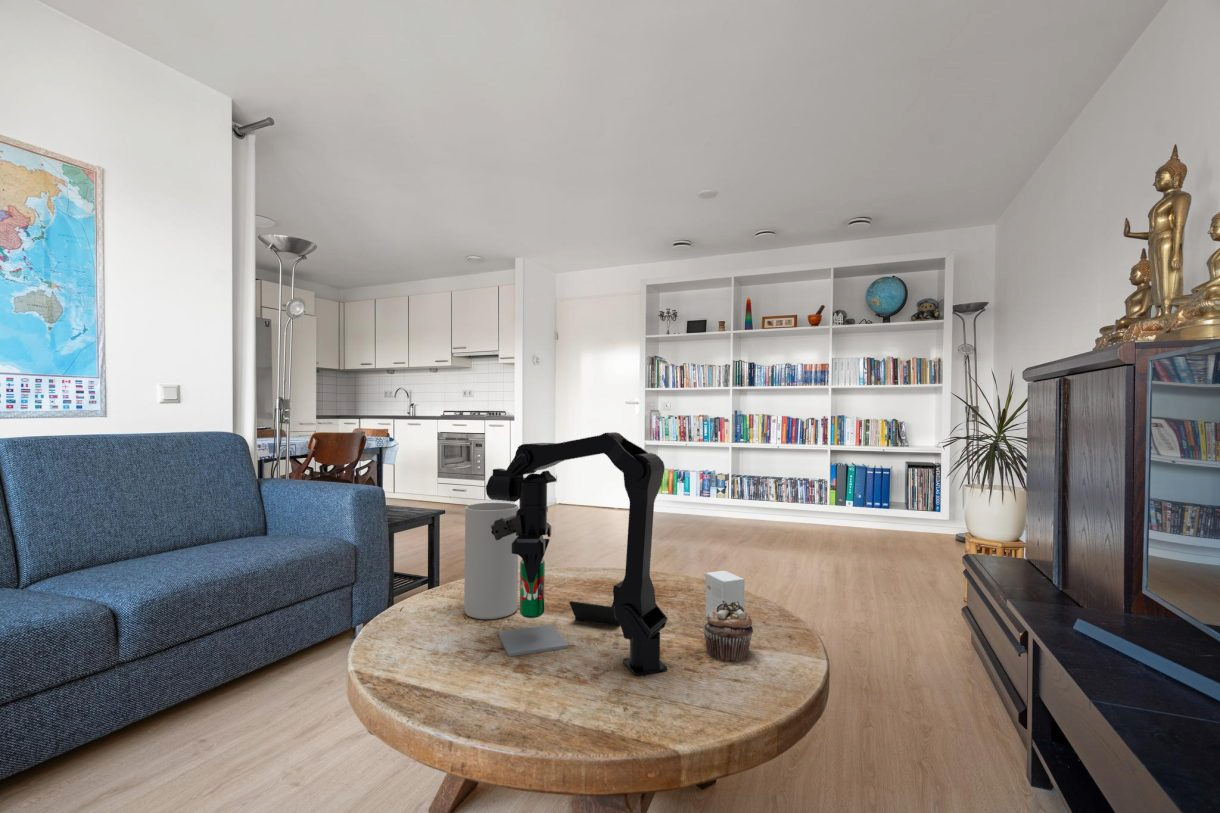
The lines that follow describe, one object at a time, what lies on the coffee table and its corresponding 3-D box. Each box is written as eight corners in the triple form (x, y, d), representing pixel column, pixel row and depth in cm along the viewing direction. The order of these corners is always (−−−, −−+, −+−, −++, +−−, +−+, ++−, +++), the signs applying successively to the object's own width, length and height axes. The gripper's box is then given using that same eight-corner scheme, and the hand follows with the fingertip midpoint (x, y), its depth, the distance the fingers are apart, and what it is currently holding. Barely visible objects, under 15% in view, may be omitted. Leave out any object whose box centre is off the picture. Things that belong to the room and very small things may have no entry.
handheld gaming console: (628, 608, 134) (619, 582, 128) (627, 636, 128) (617, 610, 122) (582, 611, 136) (570, 586, 130) (578, 639, 130) (566, 613, 125)
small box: (745, 626, 127) (745, 578, 127) (723, 629, 125) (724, 581, 125) (725, 614, 134) (725, 569, 134) (704, 617, 132) (705, 572, 132)
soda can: (545, 610, 120) (545, 553, 120) (543, 618, 115) (543, 559, 115) (521, 610, 120) (521, 553, 120) (518, 619, 115) (518, 559, 115)
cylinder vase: (511, 600, 143) (512, 501, 144) (522, 616, 132) (523, 509, 132) (461, 605, 139) (462, 503, 139) (467, 623, 127) (469, 511, 128)
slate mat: (568, 648, 114) (568, 645, 114) (508, 656, 110) (508, 653, 110) (552, 627, 125) (552, 624, 125) (497, 634, 121) (497, 631, 121)
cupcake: (740, 642, 118) (741, 593, 118) (760, 662, 108) (760, 609, 108) (696, 644, 116) (696, 595, 117) (712, 665, 107) (712, 611, 107)
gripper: (502, 497, 127) (501, 566, 127) (485, 510, 108) (484, 592, 108) (551, 497, 127) (551, 566, 127) (543, 510, 109) (543, 592, 108)
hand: (532, 578), depth 118 cm, fingers closed on soda can, 5 cm apart
